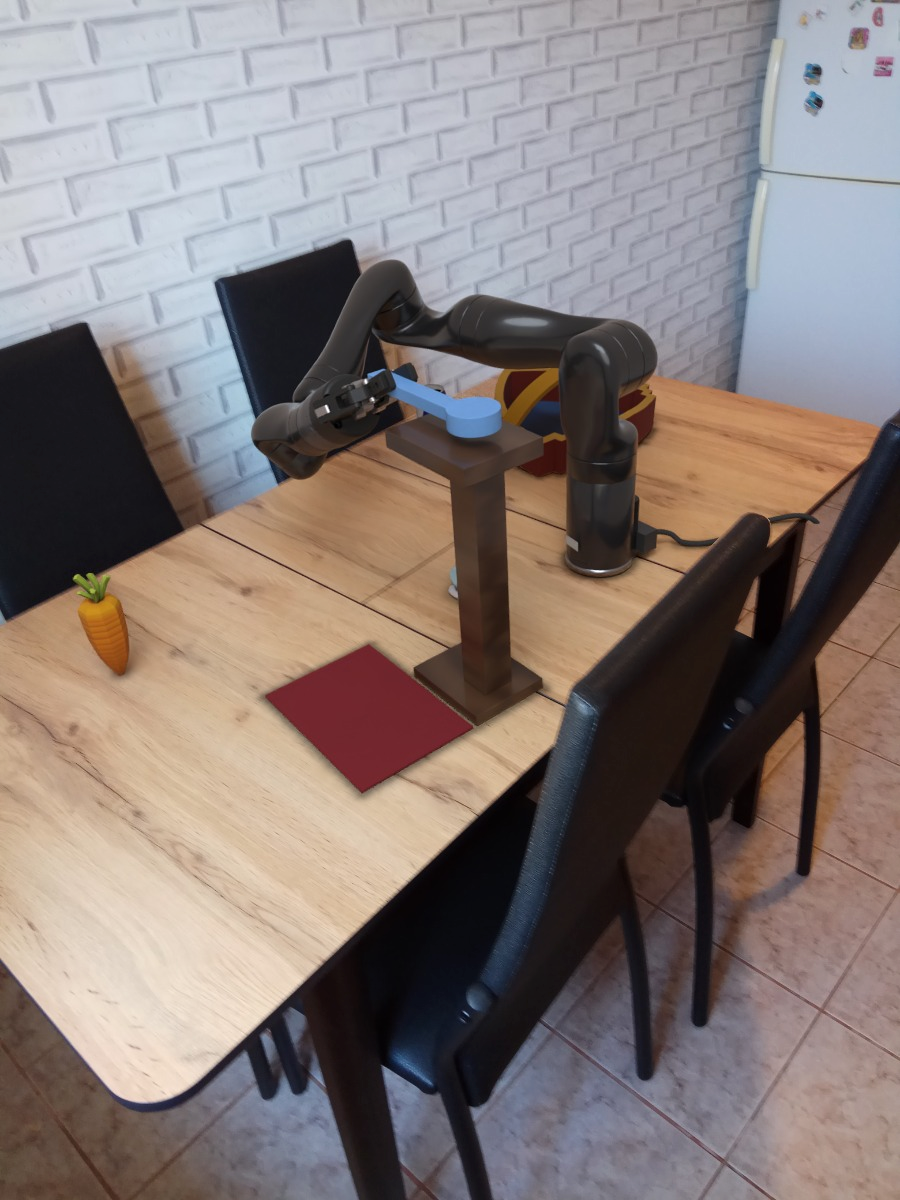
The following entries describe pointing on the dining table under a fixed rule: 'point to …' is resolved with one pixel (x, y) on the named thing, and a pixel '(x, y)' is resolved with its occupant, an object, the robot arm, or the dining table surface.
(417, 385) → the blue disc paddle
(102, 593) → the carrot
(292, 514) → the dining table surface
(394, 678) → the cloth
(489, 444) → the stand
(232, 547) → the dining table surface
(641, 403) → the decorative basket
